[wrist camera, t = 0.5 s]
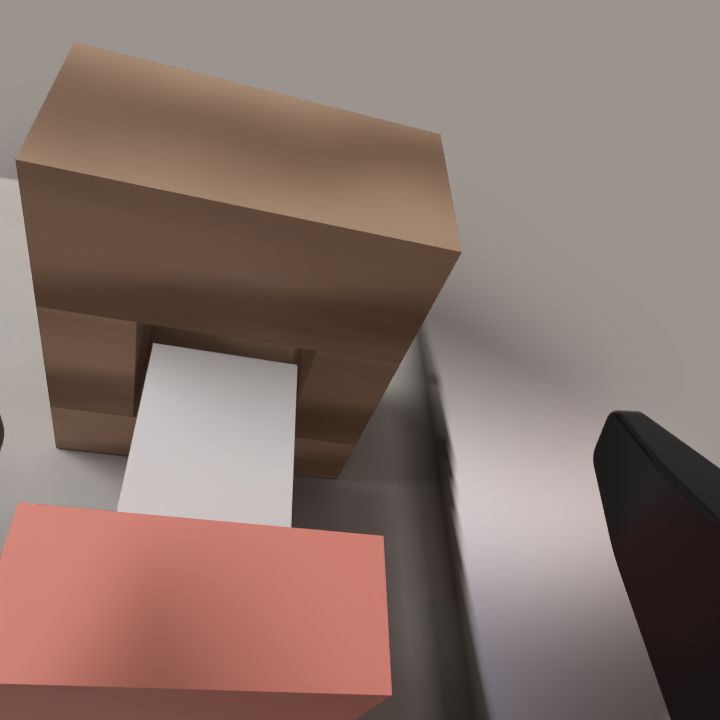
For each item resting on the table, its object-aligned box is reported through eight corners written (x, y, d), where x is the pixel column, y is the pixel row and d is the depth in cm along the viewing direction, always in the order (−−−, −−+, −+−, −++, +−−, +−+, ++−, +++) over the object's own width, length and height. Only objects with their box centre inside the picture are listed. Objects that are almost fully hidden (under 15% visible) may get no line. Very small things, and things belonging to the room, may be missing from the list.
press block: (336, 479, 25) (461, 251, 16) (56, 448, 22) (15, 159, 13) (335, 374, 28) (440, 134, 19) (89, 337, 25) (74, 42, 16)
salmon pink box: (290, 761, 18) (392, 695, 12) (23, 760, 17) (-40, 681, 10) (300, 477, 24) (372, 319, 17) (99, 454, 22) (92, 271, 16)
